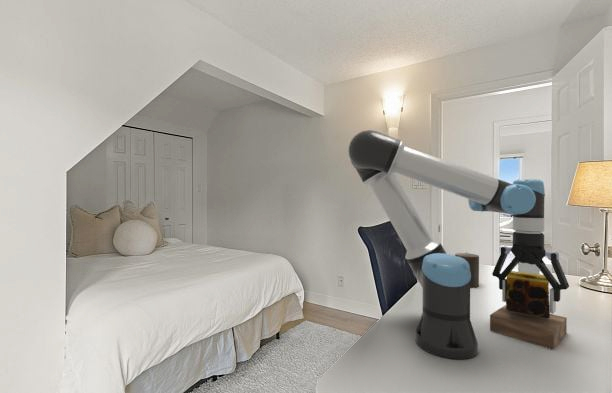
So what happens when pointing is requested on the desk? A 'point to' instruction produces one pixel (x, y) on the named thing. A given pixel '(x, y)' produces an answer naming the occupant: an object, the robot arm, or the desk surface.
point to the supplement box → (528, 268)
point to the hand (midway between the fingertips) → (527, 306)
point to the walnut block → (529, 327)
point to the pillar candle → (472, 267)
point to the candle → (528, 294)
